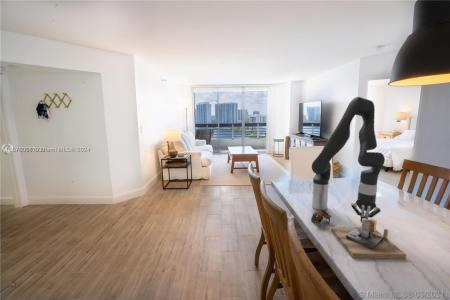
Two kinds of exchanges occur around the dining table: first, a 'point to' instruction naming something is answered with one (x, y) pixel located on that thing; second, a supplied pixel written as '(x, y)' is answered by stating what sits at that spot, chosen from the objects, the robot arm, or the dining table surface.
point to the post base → (361, 251)
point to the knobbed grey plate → (373, 238)
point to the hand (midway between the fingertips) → (363, 223)
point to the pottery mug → (320, 216)
